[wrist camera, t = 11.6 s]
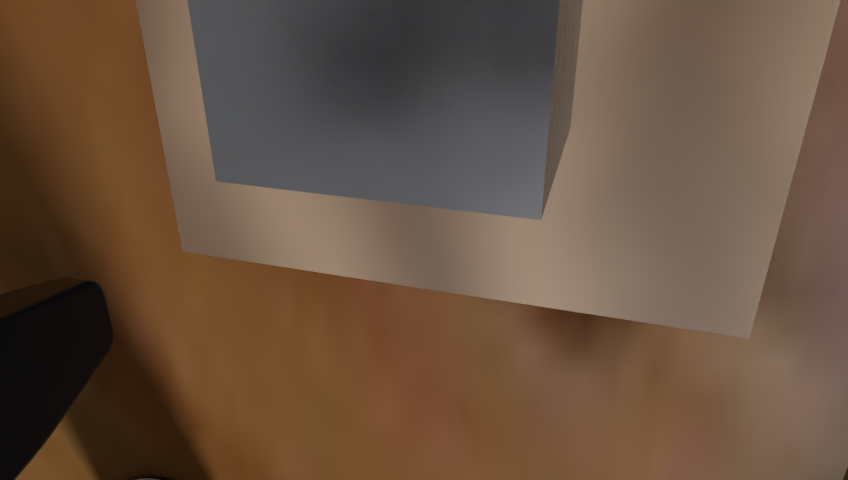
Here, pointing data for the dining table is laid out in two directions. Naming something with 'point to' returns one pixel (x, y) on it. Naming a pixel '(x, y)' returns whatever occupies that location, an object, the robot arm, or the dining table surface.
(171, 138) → the tang plate
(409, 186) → the brushed metal cube
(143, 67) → the dining table surface
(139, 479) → the travel mug
